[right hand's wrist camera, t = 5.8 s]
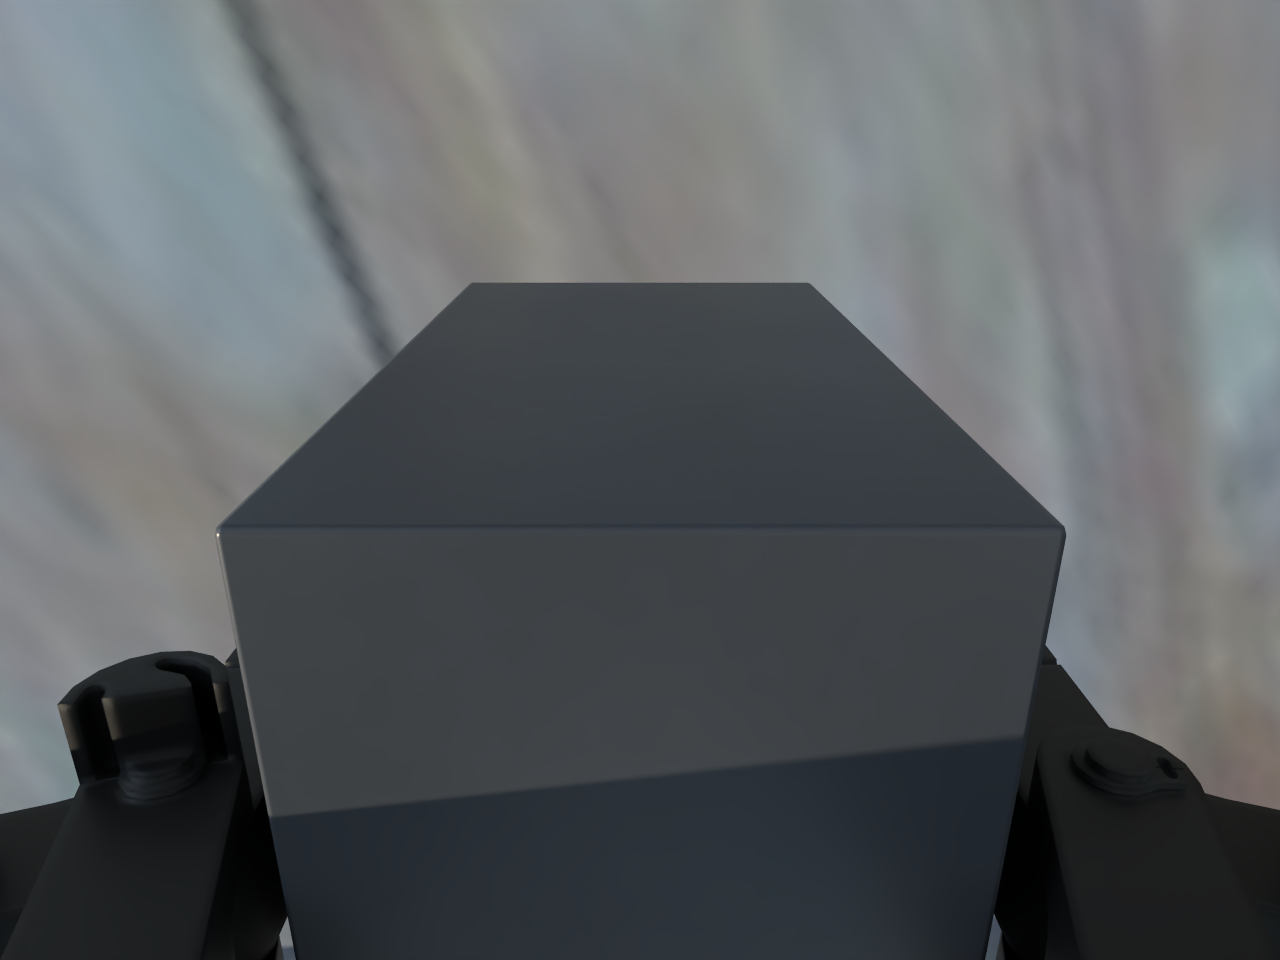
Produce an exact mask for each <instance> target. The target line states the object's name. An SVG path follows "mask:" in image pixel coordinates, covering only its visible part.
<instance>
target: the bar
mask: <svg viewBox="0 0 1280 960" xmlns="http://www.w3.org/2000/svg"><path fill="white" fill-rule="evenodd" d="M215 538H216V543H217V548H218V554H219V559H220V564H221V569H222V575H223V580H224V585H225V590H226V596H227V601H228V606H229V611H230V617H231V622H232V627H233V632H234V637H235V643H236V648H237V653H238V658H239V664H240V669H241V674H242V679H243V685H244V690H245V695H246V700H247V706H248V711H249V716H250V721H251V726H252V732H253V737H254V742H255V747H256V753H257V758H258V763H259V768H260V774H261V779H262V784H263V789H264V795H265V800H266V805H267V810H268V815H269V821H270V826H271V831H272V836H273V842H274V847H275V852H276V857H277V863H278V868H279V873H280V878H281V884H282V889H283V894H284V899H285V904H286V910H287V915H288V920H289V925H290V931H291V936H292V941H293V946H294V952H295V957H296V960H985V957H986V952H987V946H988V941H989V936H990V931H991V926H992V920H993V915H994V910H995V905H996V900H997V894H998V889H999V884H1000V879H1001V873H1002V868H1003V863H1004V858H1005V853H1006V847H1007V842H1008V837H1009V832H1010V826H1011V821H1012V816H1013V811H1014V806H1015V800H1016V795H1017V790H1018V785H1019V779H1020V774H1021V769H1022V764H1023V759H1024V753H1025V748H1026V743H1027V738H1028V733H1029V727H1030V722H1031V717H1032V712H1033V706H1034V701H1035V696H1036V691H1037V686H1038V680H1039V675H1040V670H1041V665H1042V659H1043V654H1044V649H1045V644H1046V639H1047V633H1048V628H1049V623H1050V618H1051V612H1052V607H1053V602H1054V597H1055V592H1056V586H1057V581H1058V576H1059V571H1060V565H1061V560H1062V555H1063V550H1064V545H1065V539H1066V532H1065V528H1064V526H1063V525H1062V524H1061V523H1060V522H1059V521H1058V520H1057V519H1056V518H1055V517H1054V516H1053V515H1052V514H1050V513H1049V512H1048V511H1047V510H1046V509H1045V508H1044V507H1043V506H1042V505H1041V504H1040V503H1039V502H1038V501H1037V500H1036V499H1035V498H1034V497H1033V496H1032V495H1031V494H1030V493H1029V492H1027V491H1026V490H1025V489H1024V488H1023V487H1022V486H1021V485H1020V484H1019V483H1018V482H1017V481H1016V480H1015V479H1014V478H1013V477H1012V476H1011V475H1010V474H1009V473H1008V472H1007V471H1006V470H1004V469H1003V468H1002V467H1001V466H1000V465H999V464H998V463H997V462H996V461H995V460H994V459H993V458H992V457H991V456H990V455H989V454H988V453H987V452H986V451H985V450H984V449H983V448H981V447H980V446H979V445H978V444H977V443H976V442H975V441H974V440H973V439H972V438H971V437H970V436H969V435H968V434H967V433H966V432H965V431H964V430H963V429H962V428H961V427H960V426H958V425H957V424H956V423H955V422H954V421H953V420H952V419H951V418H950V417H949V416H948V415H947V414H946V413H945V412H944V411H943V410H942V409H941V408H940V407H939V406H938V405H936V404H935V403H934V402H933V401H932V400H931V399H930V398H929V397H928V396H927V395H926V394H925V393H924V392H923V391H922V390H921V389H920V388H919V387H918V386H917V385H916V384H915V383H913V382H912V381H911V380H910V379H909V378H908V377H907V376H906V375H905V374H904V373H903V372H902V371H901V370H900V369H899V368H898V367H897V366H896V365H895V364H894V363H893V362H892V361H890V360H889V359H888V358H887V357H886V356H885V355H884V354H883V353H882V352H881V351H880V350H879V349H878V348H877V347H876V346H875V345H874V344H873V343H872V342H871V341H870V340H869V339H867V338H866V337H865V336H864V335H863V334H862V333H861V332H860V331H859V330H858V329H857V328H856V327H855V326H854V325H853V324H852V323H851V322H850V321H849V320H848V319H847V318H845V317H844V316H843V315H842V314H841V313H840V312H839V311H838V310H837V309H836V308H835V307H834V306H833V305H832V304H831V303H830V302H829V301H828V300H827V299H826V298H825V297H824V296H822V295H821V294H820V293H819V292H818V291H817V290H816V289H815V288H814V287H813V286H812V285H811V284H809V283H471V284H470V285H468V286H467V287H466V288H465V289H464V290H463V291H462V292H461V293H460V294H459V295H458V296H457V297H456V298H455V299H454V300H453V301H452V302H451V303H450V304H449V305H448V306H447V307H446V308H445V309H443V310H442V311H441V312H440V313H439V314H438V315H437V316H436V317H435V318H434V319H433V320H432V321H431V322H430V323H429V324H428V325H427V326H426V327H425V328H424V329H423V330H422V331H421V332H419V333H418V334H417V335H416V336H415V337H414V338H413V339H412V340H411V341H410V342H409V343H408V344H407V345H406V346H405V347H404V348H403V349H402V350H401V351H400V352H399V353H398V354H397V355H395V356H394V357H393V358H392V359H391V360H390V361H389V362H388V363H387V364H386V365H385V366H384V367H383V368H382V369H381V370H380V371H379V372H378V373H377V374H376V375H375V376H374V377H373V378H372V379H370V380H369V381H368V382H367V383H366V384H365V385H364V386H363V387H362V388H361V389H360V390H359V391H358V392H357V393H356V394H355V395H354V396H353V397H352V398H351V399H350V400H349V401H348V402H346V403H345V404H344V405H343V406H342V407H341V408H340V409H339V410H338V411H337V412H336V413H335V414H334V415H333V416H332V417H331V418H330V419H329V420H328V421H327V422H326V423H325V424H324V425H322V426H321V427H320V428H319V429H318V430H317V431H316V432H315V433H314V434H313V435H312V436H311V437H310V438H309V439H308V440H307V441H306V442H305V443H304V444H303V445H302V446H301V447H300V448H299V449H297V450H296V451H295V452H294V453H293V454H292V455H291V456H290V457H289V458H288V459H287V460H286V461H285V462H284V463H283V464H282V465H281V466H280V467H279V468H278V469H277V470H276V471H275V472H273V473H272V474H271V475H270V476H269V477H268V478H267V479H266V480H265V481H264V482H263V483H262V484H261V485H260V486H259V487H258V488H257V489H256V490H255V491H254V492H253V493H252V494H251V495H249V496H248V497H247V498H246V499H245V500H244V501H243V502H242V503H241V504H240V505H239V506H238V507H237V508H236V509H235V510H234V511H233V512H232V513H231V514H230V515H229V516H228V517H227V518H226V519H224V520H223V521H222V522H221V523H220V524H219V525H218V526H217V529H216V533H215Z"/></svg>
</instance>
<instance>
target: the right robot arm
mask: <svg viewBox="0 0 1280 960" xmlns="http://www.w3.org/2000/svg"><path fill="white" fill-rule="evenodd" d="M1056 661H1057V659H1056V658H1055V657H1054V656H1053V654H1052V653H1051V652H1050V650H1049V649H1048V648H1047V647H1046V645H1045V649H1044V654H1043V659H1042V665H1041V670H1040V675H1039V680H1038V686H1037V691H1036V696H1035V701H1034V706H1033V712H1032V717H1031V722H1030V727H1029V733H1028V738H1027V743H1026V748H1025V753H1024V759H1023V764H1022V769H1021V774H1020V779H1019V785H1018V790H1017V795H1016V800H1015V806H1014V811H1013V816H1012V821H1011V826H1010V832H1009V837H1008V842H1007V847H1006V853H1005V858H1004V863H1003V868H1002V873H1001V879H1000V884H999V889H998V894H997V900H996V905H995V910H994V915H995V917H996V919H997V921H998V924H999V926H1000V928H1001V930H1002V931H1001V936H1000V941H999V947H998V952H997V957H996V960H1280V810H1276V809H1272V808H1267V807H1262V806H1257V805H1252V804H1248V803H1243V802H1238V801H1233V800H1228V799H1224V798H1221V797H1217V796H1213V795H1210V794H1206V793H1204V791H1203V788H1202V786H1201V784H1200V782H1199V781H1198V780H1197V779H1196V777H1195V776H1194V775H1193V773H1192V772H1191V771H1190V769H1189V768H1188V767H1187V765H1186V764H1185V763H1184V762H1182V761H1181V760H1179V759H1178V758H1177V757H1175V756H1174V755H1173V754H1171V753H1170V752H1168V751H1167V750H1166V749H1164V748H1163V747H1162V746H1160V745H1157V744H1155V743H1153V742H1151V741H1148V740H1146V739H1144V738H1142V737H1140V736H1137V735H1135V734H1133V733H1130V732H1126V731H1121V730H1117V729H1113V728H1109V727H1108V726H1107V724H1106V723H1105V722H1104V720H1103V719H1102V718H1101V716H1100V715H1099V714H1098V713H1097V711H1096V710H1095V709H1094V707H1093V706H1092V705H1091V703H1090V702H1089V701H1088V700H1087V698H1086V697H1085V696H1084V694H1083V693H1082V692H1081V691H1080V689H1079V688H1078V687H1077V685H1076V684H1075V683H1074V681H1073V680H1072V679H1071V678H1070V676H1069V675H1068V674H1067V672H1066V671H1065V670H1064V669H1063V667H1062V666H1061V665H1057V662H1056ZM58 709H59V712H60V716H61V719H62V723H63V726H64V730H65V734H66V737H67V741H68V744H69V748H70V751H71V755H72V758H73V762H74V765H75V769H76V772H77V776H78V779H79V783H80V786H79V788H78V790H77V792H76V794H75V797H74V798H71V799H67V800H64V801H60V802H56V803H52V804H47V805H42V806H38V807H33V808H28V809H23V810H18V811H14V812H9V813H4V814H0V960H284V958H283V952H282V947H281V942H280V936H279V934H280V932H281V930H282V928H283V925H284V923H285V921H286V919H287V916H288V915H287V910H286V904H285V899H284V894H283V889H282V884H281V878H280V873H279V868H278V863H277V857H276V852H275V847H274V842H273V836H272V831H271V826H270V821H269V815H268V810H267V805H266V800H265V795H264V789H263V784H262V779H261V774H260V768H259V763H258V758H257V753H256V747H255V742H254V737H253V732H252V726H251V721H250V716H249V711H248V706H247V700H246V695H245V690H244V685H243V679H242V674H241V669H240V664H239V658H238V653H237V648H236V649H235V650H234V651H233V653H232V654H231V655H230V657H229V658H228V659H227V660H226V662H225V665H224V664H222V663H221V662H220V661H219V660H217V659H216V658H215V657H214V656H211V655H206V654H202V653H197V652H193V651H173V652H159V653H154V654H149V655H145V656H140V657H135V658H131V659H128V660H125V661H123V662H120V663H117V664H115V665H112V666H110V667H107V668H105V669H102V670H100V671H98V672H96V673H95V674H93V675H91V676H90V677H88V678H87V679H85V680H83V681H82V682H80V683H79V684H77V685H75V686H74V687H73V688H72V689H71V690H70V691H69V692H68V693H67V695H66V696H65V697H64V698H63V699H62V700H61V701H60V702H59V703H58Z"/></svg>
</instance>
